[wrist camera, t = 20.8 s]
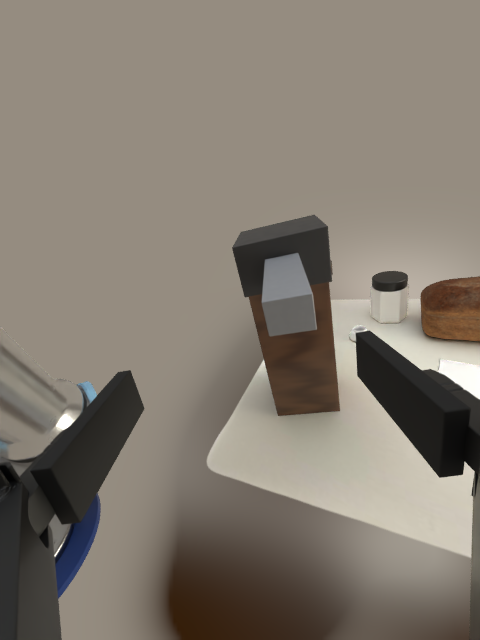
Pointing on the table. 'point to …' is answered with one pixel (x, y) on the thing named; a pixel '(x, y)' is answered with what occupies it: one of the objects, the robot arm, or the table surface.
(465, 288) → the bread
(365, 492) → the table surface
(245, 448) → the table surface
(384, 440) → the table surface
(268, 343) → the stand
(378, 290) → the jar
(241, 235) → the sledgehammer head
